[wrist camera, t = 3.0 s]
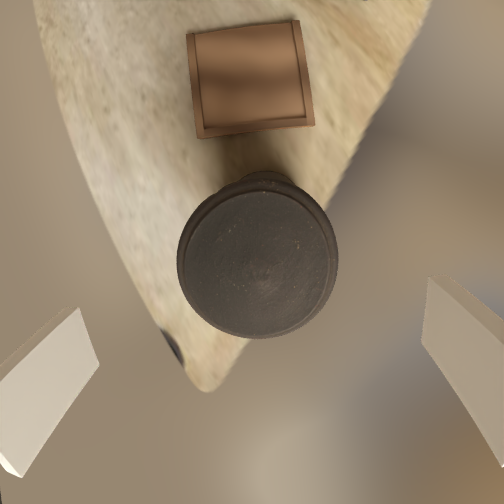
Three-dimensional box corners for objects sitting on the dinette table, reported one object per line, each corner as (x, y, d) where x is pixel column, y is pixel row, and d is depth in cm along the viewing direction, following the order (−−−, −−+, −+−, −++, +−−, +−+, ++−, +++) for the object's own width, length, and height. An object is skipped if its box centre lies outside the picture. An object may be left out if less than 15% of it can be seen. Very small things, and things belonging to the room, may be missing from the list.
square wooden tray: (189, 39, 30) (186, 34, 28) (297, 26, 29) (299, 20, 27) (200, 139, 33) (197, 138, 31) (312, 126, 32) (315, 124, 30)
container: (207, 215, 35) (138, 285, 16) (258, 150, 33) (244, 142, 14) (268, 262, 37) (266, 375, 18) (320, 201, 34) (381, 259, 15)
